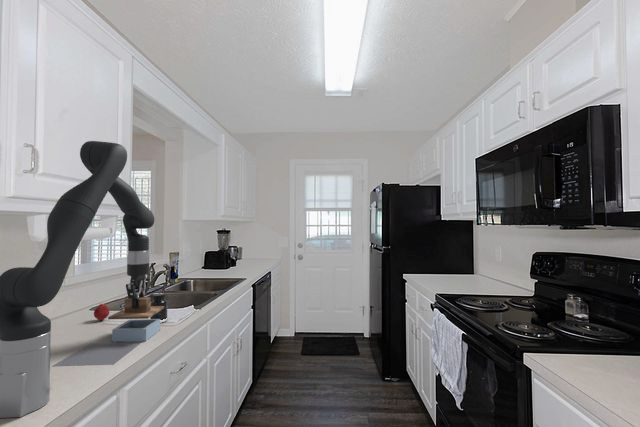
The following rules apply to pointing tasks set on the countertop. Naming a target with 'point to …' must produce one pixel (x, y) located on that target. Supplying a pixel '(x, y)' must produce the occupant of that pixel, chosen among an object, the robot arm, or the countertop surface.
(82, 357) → the mat
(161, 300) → the supplement bottle
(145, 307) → the lid
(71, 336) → the countertop surface
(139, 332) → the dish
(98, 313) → the red bumpy ovoid
